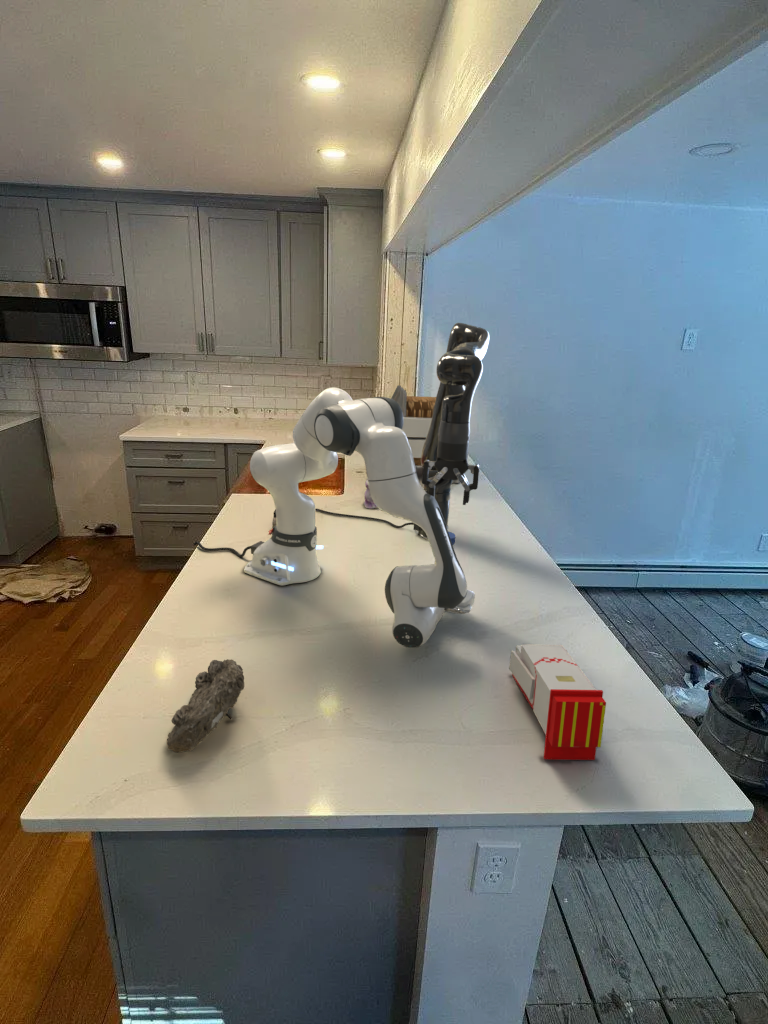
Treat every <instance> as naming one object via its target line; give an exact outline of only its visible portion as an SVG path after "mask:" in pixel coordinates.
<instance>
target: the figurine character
mask: <svg viewBox="0 0 768 1024" xmlns="http://www.w3.org/2000/svg"><path fill="white" fill-rule="evenodd" d="M271 523H272V524H271V526H272V528H273V527H274V526H276V510H275V509H274V511H273V518H272V522H271Z"/></svg>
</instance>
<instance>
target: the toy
mask: <svg viewBox="0 0 768 1024" xmlns="http://www.w3.org/2000/svg"><path fill="white" fill-rule="evenodd" d="M510 651H511V653H510V658H509V659H510V660H509V666H508V669H509V671H510V672H511V676H512V678H513V679H514V681H515V682H516V685H517V686H518V688H519V690H520V691H521V692H522V694H523V697H525V699H526V701H527V703H528V704H529V706H530V708H531V709H532V711H533V713H534V715H535V717H536V719H537V721H538V723H539V725H540V727H541V728H542V731H543V732H544V734H545V739H544V750H543V760H555V761H557V760H560V761H561V760H562V761H563V760H564V761H565V760H567V761H570V760H571V761H595V760H596V754H597V748H601V746H602V740H603V738H602V737H603V732H604V723H605V716H606V707H607V701H606V700H605V698H603V696H604V691H603V690H602V689H597V688H596V687H595V686H594V684H593V683H592V682H591V681H590V679H589V677H587V675H586V674H585V673H584V671H583V670H582V669H581V667H580V666H579V664H578V663H576V660H574V659H573V658H572V656H571V655H570V653H569V652H568V650H567V649H566V648H565V647H564V645H562V644H529V643H525V644H524V643H523V644H522V643H521V645H520V644H519V645H518V644H517V645H515V650H514V649H513V650H510Z"/></svg>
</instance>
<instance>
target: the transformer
mask: <svg viewBox="0 0 768 1024" xmlns="http://www.w3.org/2000/svg"><path fill="white" fill-rule="evenodd" d="M407 394H408V393H407V390H406V389H404V388H403V387H402V385H399V384H398V385H397V386H396V388H395V390H394V392H393V394H392V395H391V399H393V400H395V401H396V402H397V403H398V404H399V406H400V408H401V410H402V413H403V419H404V422H403V428H402V430H403V431H404V433H405V434H406V436H407V439H408V442H409V445H410V448H411V451H412V455H413V458H414V463H415V467H417V466H418V467H422V465H421V453H422V449H423V446H424V442H425V440H426V437H427V434H428V431H429V428H430V424H431V420H432V415H433V410H434V405H435V401H436V396H415V395H414V396H413V395H412V396H411V395H407ZM455 483H456V484H459V483H460V481H459V480H452V484H455Z"/></svg>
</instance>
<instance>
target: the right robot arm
mask: <svg viewBox="0 0 768 1024" xmlns="http://www.w3.org/2000/svg"><path fill="white" fill-rule="evenodd" d="M489 343H490V333H489V331H488V330H487V329H485V328H483V327H481V326H480V327H479V326H475V325H472V324H468V323H463V322H456V323H454V324H453V326H452V328H451V330H450V333H449V337H448V342H447V347H446V352H445V353H443V354H442V356H441V357H440V358H439V359H438V362H437V365H436V377H437V379H438V381H439V385H438V389H437V394H436V396H435V397H436V401H435V405H434V410H433V415H432V420H431V424H430V428H429V431H428V434H427V437H426V440H425V442H424V446H423V449H422V453H421V465H422V466H421V467H422V475H421V476H422V478H421V483H422V484H421V485H423V489H424V490H425V492H426V493H427V494H429V495H432V496H433V497H434V498H435V500H436V501H437V503H438V506H439V508H440V510H441V513H442V516H443V518H444V521H445V524H446V527H447V530H448V529H449V517H450V516H449V514H450V504H451V494H452V493H451V491H452V484H453V483H452V480H459V481H460V482H459V483H460V485H461V486H462V487H463V497H462V506H466V505H467V504H468V503H469V502H470V495H471V494H470V493H471V491H474V490H477V489H478V485H479V477H480V464H479V463H475V464H469V462H468V456H469V445H470V439H471V438H470V437H471V414H472V413H471V412H472V406H473V400H474V397H475V394H476V390H477V387H478V385H479V382H480V381H481V378H482V375H483V371H484V365H483V362H482V360H483V359H484V357H485V355H486V354H487V351H488V347H489ZM468 470H469V471H470V474H471V475H473V478H472V483H469V481H468V478H467V477H466V475H465V474H466V472H467V471H468ZM430 472H437V473H436V474H435V475H433V476H431V477H429V475H430ZM316 511H317V512H320V513H324V514H327V515H333V516H339V517H347V518H354V519H362V520H363V519H364V520H370V521H371V520H372V521H378V522H382V523H385V524H388V525H390V526H392V527H393V528H396V529H402V528H404V527H407V526H413V531H416V532H417V535H418V536H420V538H421V539H424V540H426V541H429V540H428V537H427V535H426V533H425V531H424V530H423V529H422V528H421V527H420V526H418V525H417V524H415V523H413V522H405V523H403V524H401V525H396V524H394V523H392V522H391V521H389V520H386V519H382V518H376V517H371V516H364V515H363V516H362V515H354V514H345V513H338V512H333V511H327V510H323V509H320V508H316V507H315V512H316Z"/></svg>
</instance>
